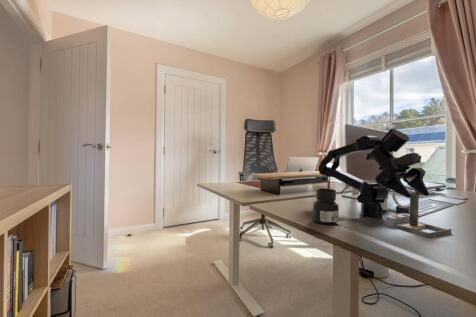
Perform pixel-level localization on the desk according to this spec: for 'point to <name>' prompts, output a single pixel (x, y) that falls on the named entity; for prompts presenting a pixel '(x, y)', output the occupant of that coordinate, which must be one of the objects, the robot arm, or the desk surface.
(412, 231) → the open grey box
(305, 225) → the desk surface
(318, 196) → the ink bottle
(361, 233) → the desk surface
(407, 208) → the watch
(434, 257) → the desk surface
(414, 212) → the grey cylinder
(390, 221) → the gauge cabinet
